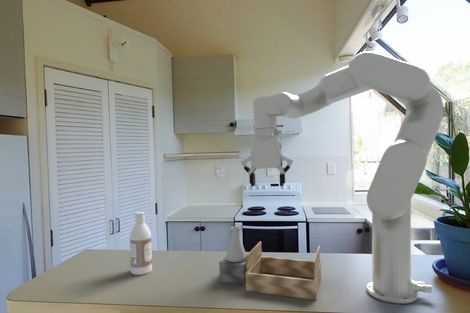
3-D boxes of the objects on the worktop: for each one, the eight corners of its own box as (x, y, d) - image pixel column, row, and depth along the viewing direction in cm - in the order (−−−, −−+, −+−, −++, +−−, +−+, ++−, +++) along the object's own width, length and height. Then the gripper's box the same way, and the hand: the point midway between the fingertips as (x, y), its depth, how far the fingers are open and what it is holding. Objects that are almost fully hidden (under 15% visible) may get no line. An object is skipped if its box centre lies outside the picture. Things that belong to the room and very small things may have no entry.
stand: (252, 274, 104) (251, 256, 104) (244, 284, 97) (244, 264, 96) (228, 271, 107) (228, 253, 107) (219, 281, 99) (219, 262, 99)
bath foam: (143, 276, 104) (141, 215, 104) (126, 273, 107) (124, 213, 107) (156, 269, 111) (154, 211, 110) (140, 266, 113) (138, 210, 113)
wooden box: (321, 277, 101) (320, 245, 100) (316, 299, 86) (315, 262, 86) (260, 270, 107) (259, 240, 107) (245, 290, 92) (245, 255, 92)
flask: (245, 263, 97) (245, 230, 97) (222, 262, 99) (221, 230, 98) (249, 255, 104) (248, 225, 104) (227, 254, 106) (226, 224, 106)
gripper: (293, 133, 108) (295, 184, 108) (243, 136, 113) (245, 184, 113) (290, 132, 101) (291, 187, 101) (237, 135, 106) (239, 187, 106)
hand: (267, 185), depth 107 cm, fingers open, 9 cm apart
